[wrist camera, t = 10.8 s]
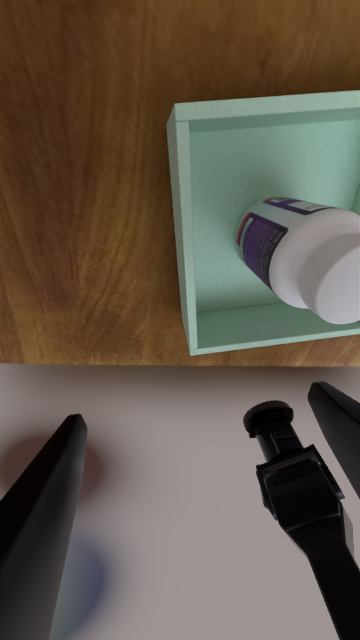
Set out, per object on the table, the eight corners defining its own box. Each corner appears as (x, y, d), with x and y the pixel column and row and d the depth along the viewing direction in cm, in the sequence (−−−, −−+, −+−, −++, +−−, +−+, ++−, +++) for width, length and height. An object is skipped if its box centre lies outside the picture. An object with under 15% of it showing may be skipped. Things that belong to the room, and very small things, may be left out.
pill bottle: (254, 279, 20) (324, 354, 12) (219, 231, 18) (278, 286, 10) (311, 236, 19) (435, 288, 11) (281, 177, 16) (414, 186, 8)
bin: (324, 299, 23) (369, 332, 18) (181, 316, 22) (190, 356, 18) (383, 106, 15) (487, 80, 11) (166, 123, 14) (174, 103, 10)
